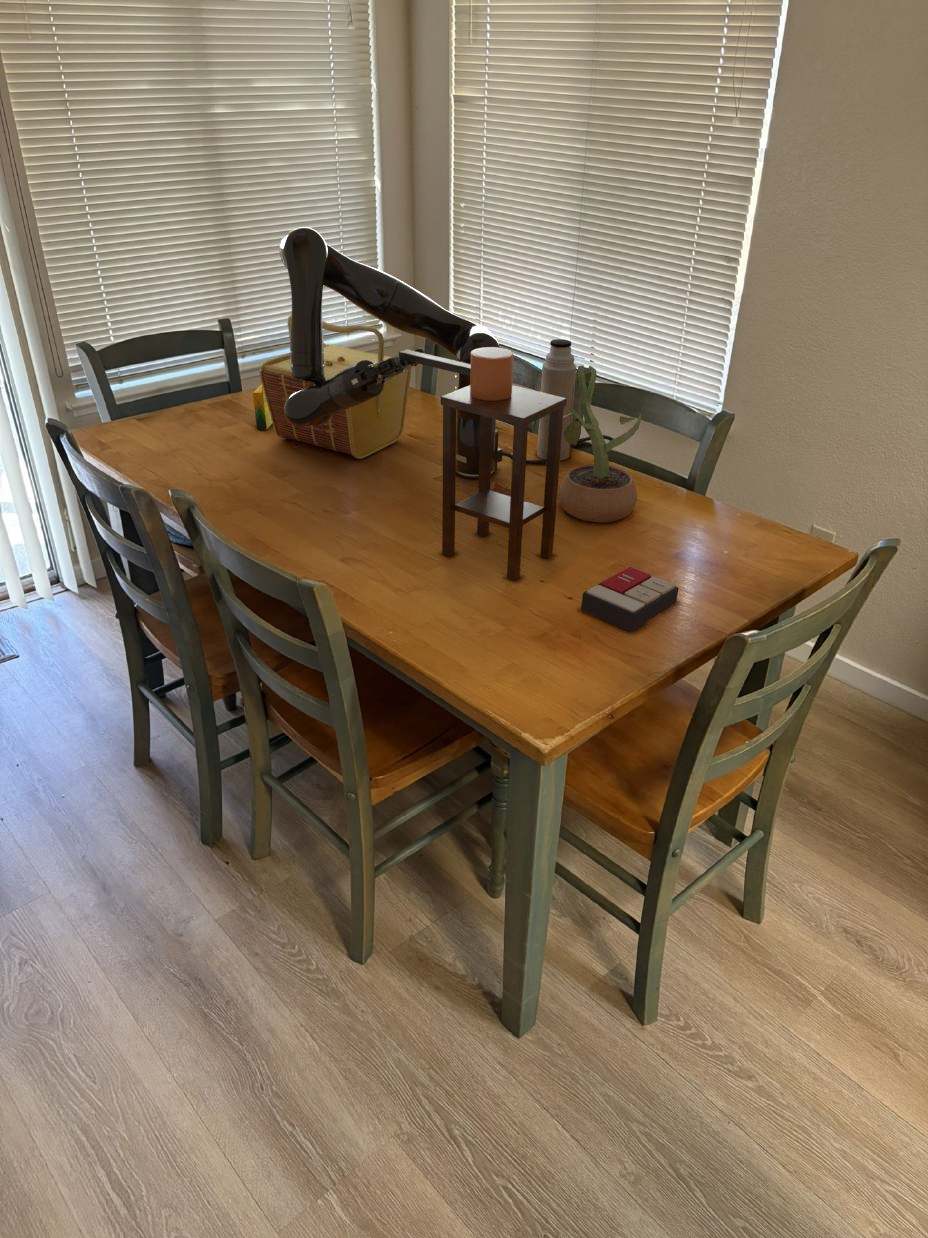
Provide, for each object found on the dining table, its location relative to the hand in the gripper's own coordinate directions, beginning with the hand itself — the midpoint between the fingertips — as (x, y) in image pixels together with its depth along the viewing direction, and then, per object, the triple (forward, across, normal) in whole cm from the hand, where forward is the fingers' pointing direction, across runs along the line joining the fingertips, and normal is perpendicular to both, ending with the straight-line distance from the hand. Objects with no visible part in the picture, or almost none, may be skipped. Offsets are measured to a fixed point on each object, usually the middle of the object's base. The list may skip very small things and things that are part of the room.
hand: (408, 357), depth 178 cm
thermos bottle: (-16, +52, +32) cm, 63 cm away
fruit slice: (-8, +19, +36) cm, 41 cm away
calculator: (+28, -1, +57) cm, 63 cm away
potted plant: (+3, +32, +42) cm, 53 cm away
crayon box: (-77, +22, -3) cm, 80 cm away
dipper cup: (+8, 0, +8) cm, 11 cm away
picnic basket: (-57, +26, +8) cm, 63 cm away
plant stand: (+2, 0, +42) cm, 42 cm away
